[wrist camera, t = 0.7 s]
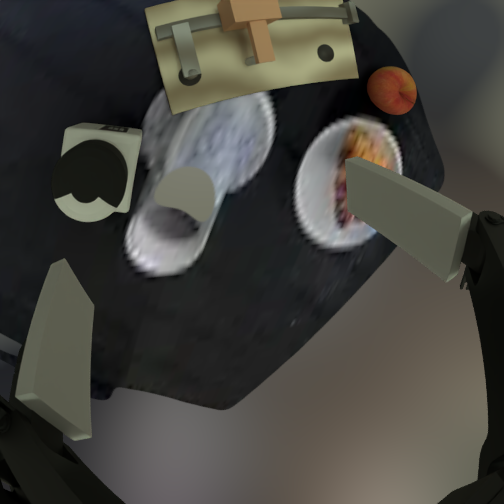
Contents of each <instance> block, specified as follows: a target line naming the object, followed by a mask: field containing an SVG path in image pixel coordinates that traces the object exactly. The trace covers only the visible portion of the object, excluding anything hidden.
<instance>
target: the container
mask: <svg viewBox="0 0 504 504" xmlns="http://www.w3.org/2000/svg"><path fill="white" fill-rule="evenodd" d="M141 141H142V130H140V129H134V128H127V127H119V126H111V125H102V124H93V123H80V124H77V125H74V126H71V127H68V128H66V130H65V133H64V139H63V146H62V153H61V158H60V159H59V160H58V162H57V164H56V166H55V168H54V170H53V174H52V180H51V188H52V194H53V197H54V200H55V202H56V204H57V205H58V207H59V208H60V209H61V210H62V211H63V212H64V213H65V214H66V215H67V216H69V217H71V218H73V219H75V220H78V221H82V222H94V221H98V220H101V219H103V218H106V217H107V216H109V215H110V214H111V213H113V212H114V211H115V212H124V213H126V212H128V211H129V207H130V200H131V194H132V188H133V182H134V176H135V170H136V165H137V160H138V155H139V150H140V145H141Z"/></svg>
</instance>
